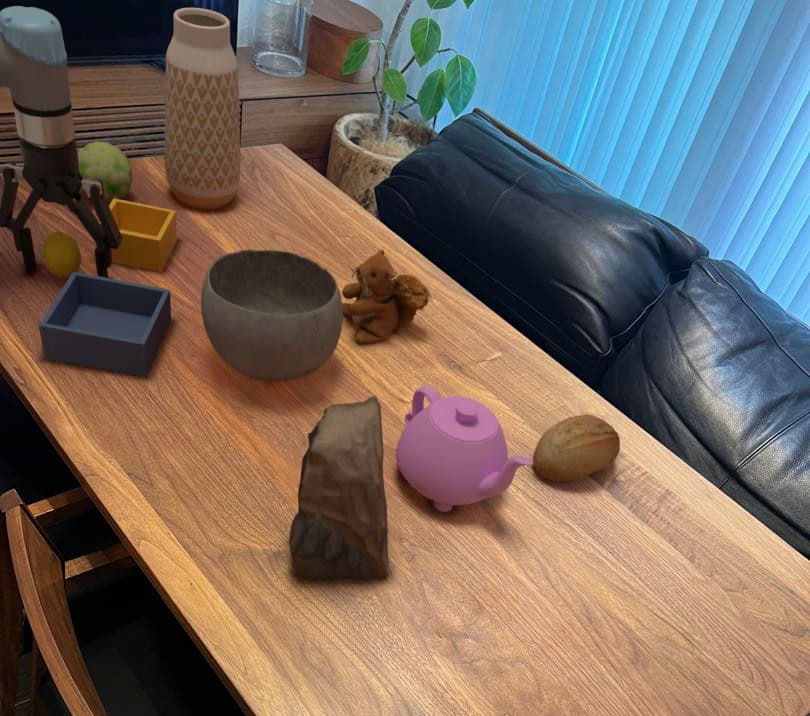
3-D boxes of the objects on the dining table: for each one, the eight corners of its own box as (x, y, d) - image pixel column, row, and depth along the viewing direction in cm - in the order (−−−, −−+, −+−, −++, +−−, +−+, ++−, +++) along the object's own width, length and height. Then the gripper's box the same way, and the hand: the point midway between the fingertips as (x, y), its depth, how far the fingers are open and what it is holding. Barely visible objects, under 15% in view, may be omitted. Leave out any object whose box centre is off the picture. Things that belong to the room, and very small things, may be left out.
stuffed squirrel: (331, 310, 138) (341, 238, 128) (408, 308, 142) (423, 239, 133) (347, 345, 132) (358, 273, 122) (426, 342, 137) (443, 272, 127)
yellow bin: (97, 260, 135) (94, 227, 131) (116, 229, 142) (113, 197, 138) (161, 272, 136) (160, 240, 132) (176, 241, 143) (175, 210, 139)
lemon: (51, 266, 131) (43, 220, 125) (86, 271, 132) (81, 225, 126) (43, 285, 128) (35, 238, 122) (80, 289, 129) (73, 243, 123)
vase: (150, 190, 153) (140, 6, 131) (207, 174, 161) (206, -2, 139) (198, 222, 149) (196, 37, 126) (254, 203, 157) (261, 27, 134)
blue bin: (44, 359, 116) (38, 325, 112) (77, 304, 126) (73, 271, 122) (146, 377, 118) (144, 344, 113) (171, 321, 128) (170, 289, 123)
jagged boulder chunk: (286, 583, 98) (299, 464, 83) (279, 507, 106) (290, 386, 91) (387, 580, 101) (417, 465, 86) (373, 507, 109) (398, 390, 94)
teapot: (539, 514, 114) (572, 442, 104) (460, 558, 106) (487, 484, 95) (439, 422, 123) (460, 348, 113) (359, 456, 115) (374, 379, 105)
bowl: (362, 372, 128) (376, 289, 117) (268, 426, 116) (274, 339, 104) (270, 311, 134) (276, 227, 123) (173, 355, 122) (169, 266, 111)
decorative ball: (144, 207, 149) (140, 153, 141) (92, 216, 143) (86, 160, 136) (119, 182, 153) (114, 128, 146) (67, 190, 148) (60, 135, 140)
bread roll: (627, 471, 124) (648, 432, 118) (557, 500, 116) (576, 460, 110) (585, 432, 128) (603, 393, 122) (516, 458, 121) (531, 418, 115)
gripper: (137, 143, 118) (146, 278, 134) (-27, 110, 115) (2, 250, 131) (122, 165, 112) (133, 302, 129) (-49, 130, 110) (-16, 274, 126)
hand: (67, 276), depth 130 cm, fingers open, 11 cm apart
